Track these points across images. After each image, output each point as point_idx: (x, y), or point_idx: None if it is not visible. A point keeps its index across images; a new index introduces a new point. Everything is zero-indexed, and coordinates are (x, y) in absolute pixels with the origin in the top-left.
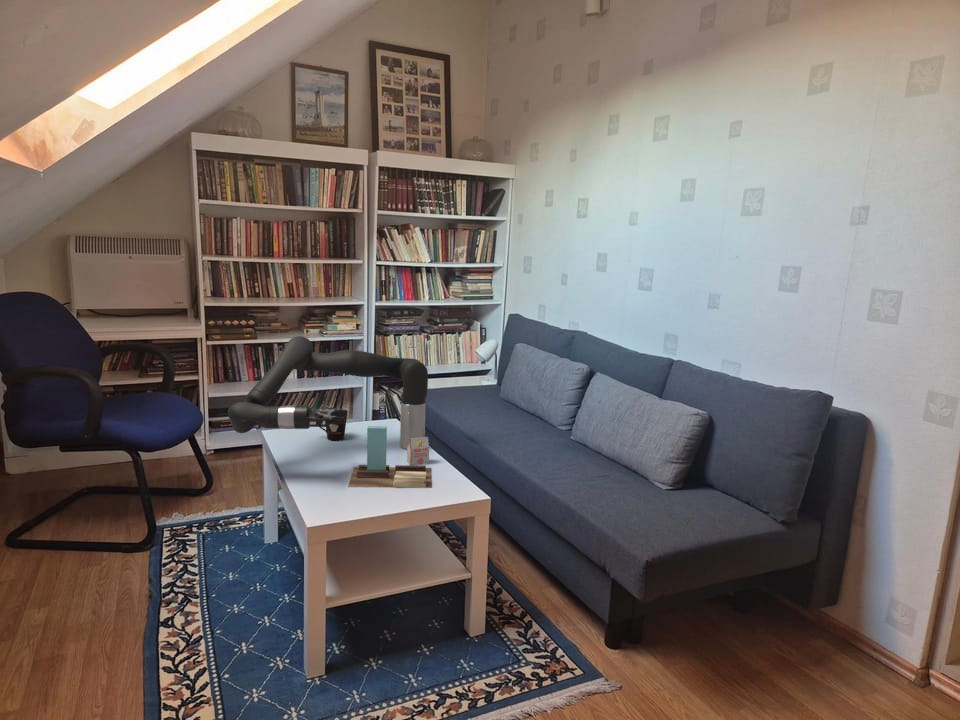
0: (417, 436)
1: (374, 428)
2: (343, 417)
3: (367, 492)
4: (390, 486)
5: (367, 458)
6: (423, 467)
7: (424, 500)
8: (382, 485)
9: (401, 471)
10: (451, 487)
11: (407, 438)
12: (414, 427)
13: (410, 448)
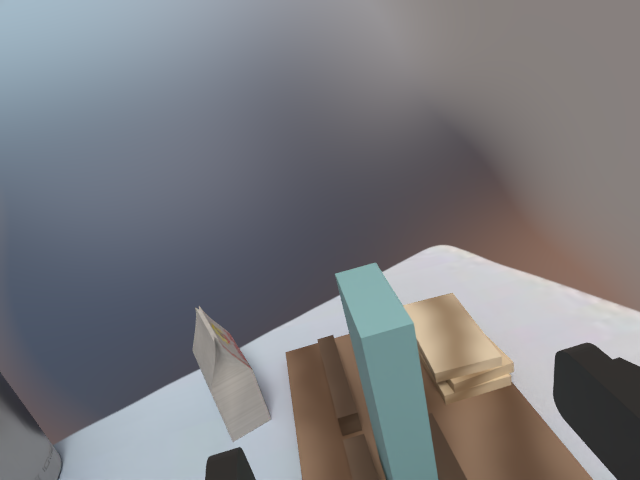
0: (34, 422)
1: (397, 297)
2: (582, 345)
3: (609, 473)
4: (512, 395)
5: (436, 472)
6: (334, 340)
7: (528, 305)
8: (522, 422)
9: (428, 358)
10: (403, 291)
11: (17, 467)
12: (9, 402)
13: (243, 363)
